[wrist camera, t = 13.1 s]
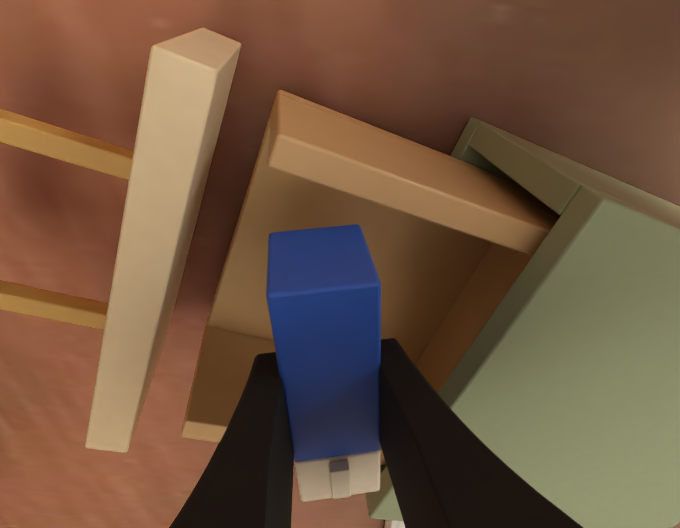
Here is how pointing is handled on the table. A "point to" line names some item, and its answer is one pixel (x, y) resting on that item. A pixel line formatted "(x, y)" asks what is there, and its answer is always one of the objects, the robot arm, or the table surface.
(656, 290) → the cabinet
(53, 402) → the table surface
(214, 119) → the drawer
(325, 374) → the blue usb stick
